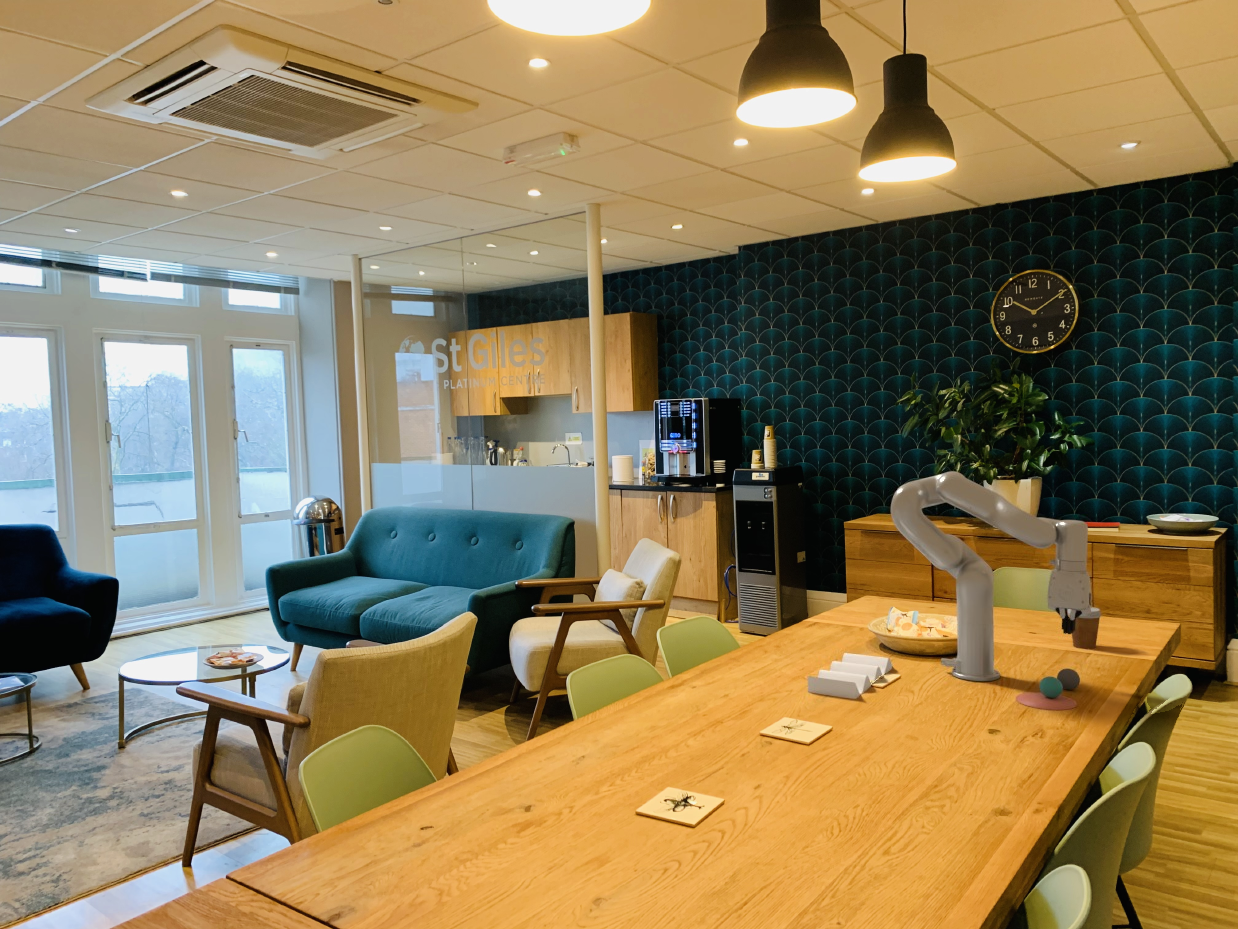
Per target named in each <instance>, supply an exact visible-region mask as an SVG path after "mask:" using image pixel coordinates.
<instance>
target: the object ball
mask: <svg viewBox="0 0 1238 929" xmlns="http://www.w3.org/2000/svg"><path fill="white" fill-rule="evenodd" d="M1038 688H1039V691H1040V693H1042V694H1043V695H1044V696H1046V697H1048V698H1057V697H1059V696H1060V695H1061V696H1062V693H1063V691H1064V688H1063V686H1062V683H1061V682H1060V681H1059V680H1058V679H1057V677H1055V676H1045V677H1043V678H1042V679H1041V680H1040V681H1039V687H1038Z"/></svg>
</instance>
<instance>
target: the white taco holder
mask: <svg viewBox="0 0 1238 929" xmlns="http://www.w3.org/2000/svg"><path fill="white" fill-rule="evenodd" d="M893 668H894V667H893V664H892V660H891V658H890V657H882V656H875V655H874V656H873V655H867V654H866V655H865V654H858V653H856V654H855V653H851V652H850V653H849V652H844V653H843V655H842V659H841V661H837V660H836V661H835V660H832V662H831V664H830V669H829V670H827V669H819V672H818V675H817V677H816V676H810V675H807V693H811V694H812V693H813V694H820V695H825V696H833V697H839V698H845V699H850V700H851V699H852V700H857V698H859V697H860V696H862V694H863V693H865V692H866V691H868V689H869V688H871V687H872V686H871V682H870V680H873V681H875V680H876V679H877V678H878V677H879V676H881V675H882V674H885V673H886V674H887V673H888V672H889V671H891V670H892V669H893ZM886 674H885V675H886Z"/></svg>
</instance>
